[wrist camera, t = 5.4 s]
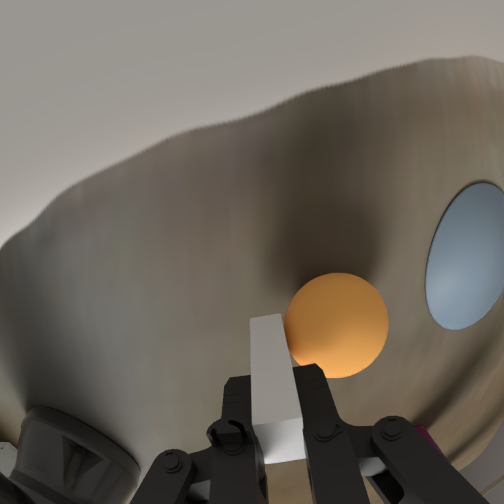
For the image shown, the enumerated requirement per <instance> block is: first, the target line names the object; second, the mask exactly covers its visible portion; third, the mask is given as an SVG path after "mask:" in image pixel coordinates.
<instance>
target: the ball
mask: <svg viewBox="0 0 504 504" xmlns="http://www.w3.org/2000/svg"><path fill="white" fill-rule="evenodd" d="M388 326H389V319H388V312H387V309H386V305H385V303H384V301H383V299H382V297H381V296H380V294H379V293H378V291H377V290H376V289H375V288H374V287H373V286H372V285H371V284H370V283H368V282H367V281H365V280H364V279H362V278H360V277H358V276H355V275H352V274H347V273H329V274H325V275H322V276H319V277H316V278H314V279H313V280H311V281H309V282H308V283H306V284H305V285H304V286H303V287H302V288H301V289H299V290H298V292H297V293H296V294H295V295H294V297H293V298H292V300H291V302H290V304H289V306H288V308H287V311H286V314H285V320H284V332H285V337H286V341H287V346H288V349H289V351H290V353H291V354H292V356H293V357H294V359H295V360H296V361H297V362H298V363H299V364H300V365H301V366H303V365H308V364H313V363H316V364H317V365H318V366H319V367H320V368H321V369H323V371H324V374H325V377H328V378H340V377H346V376H350V375H353V374H355V373H357V372H359V371H361V370H363V369H364V368H366V367H367V366H368V365H370V364H371V363H372V362H373V361H374V360H375V359H376V357H377V356H378V355H379V353H380V352H381V350H382V348H383V346H384V344H385V341H386V338H387V334H388Z"/></svg>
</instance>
